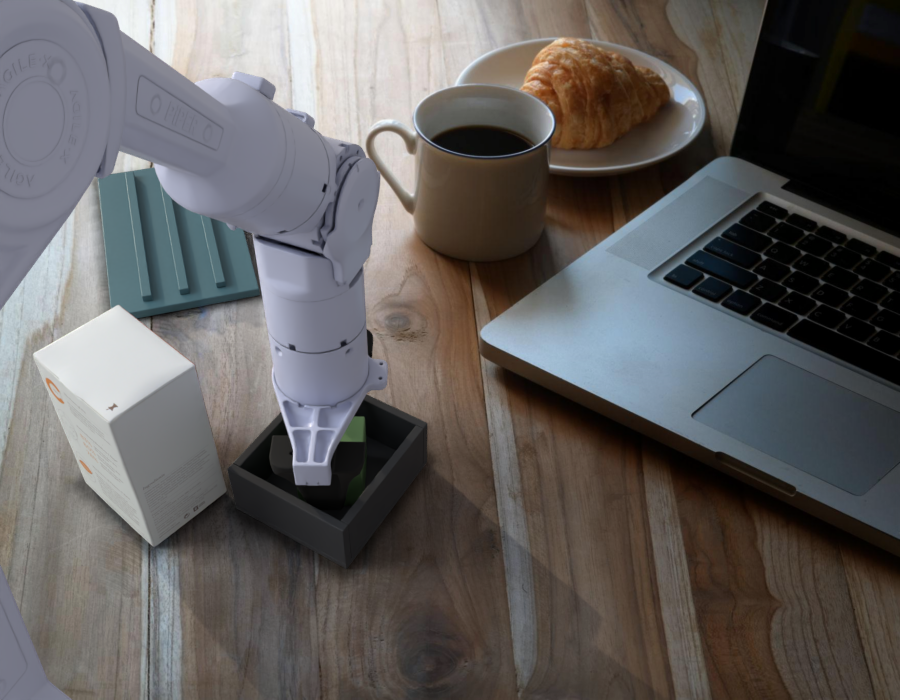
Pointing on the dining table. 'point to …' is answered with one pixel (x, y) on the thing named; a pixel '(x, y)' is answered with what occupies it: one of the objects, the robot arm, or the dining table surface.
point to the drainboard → (167, 250)
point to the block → (357, 485)
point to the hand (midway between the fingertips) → (331, 461)
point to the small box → (134, 421)
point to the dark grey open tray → (347, 530)
